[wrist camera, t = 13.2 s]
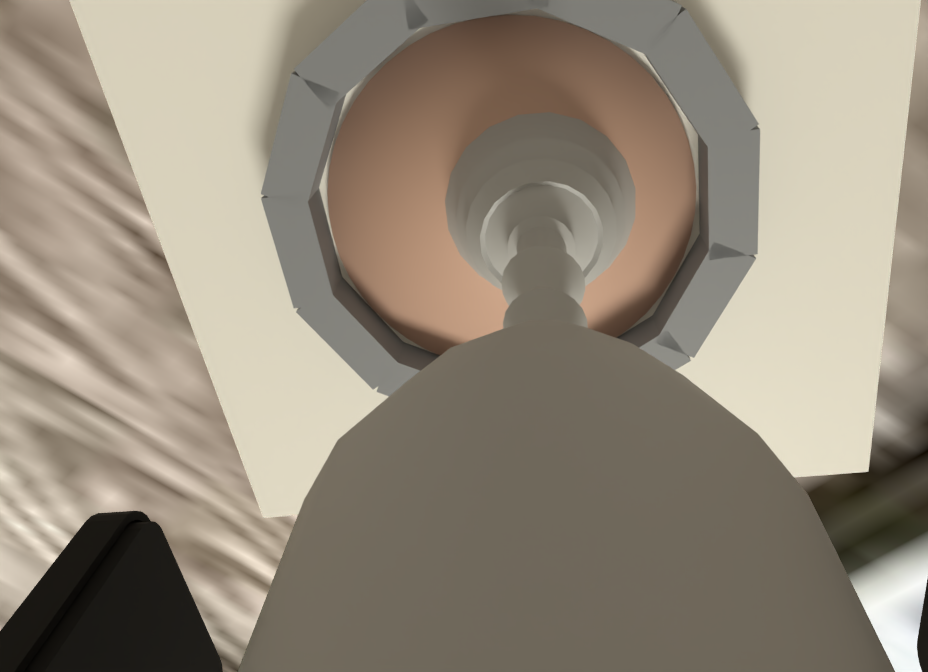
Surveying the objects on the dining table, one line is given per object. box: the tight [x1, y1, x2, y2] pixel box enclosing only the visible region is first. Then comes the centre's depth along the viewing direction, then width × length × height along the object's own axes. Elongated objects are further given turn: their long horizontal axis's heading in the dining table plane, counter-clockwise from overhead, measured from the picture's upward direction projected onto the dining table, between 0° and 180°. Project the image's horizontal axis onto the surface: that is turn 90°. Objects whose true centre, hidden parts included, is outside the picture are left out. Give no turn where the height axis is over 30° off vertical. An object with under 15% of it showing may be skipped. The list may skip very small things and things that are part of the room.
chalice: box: [238, 112, 895, 672], centre depth 12 cm, size 7×7×18 cm
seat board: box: [69, 0, 921, 518], centre depth 20 cm, size 20×20×2 cm
